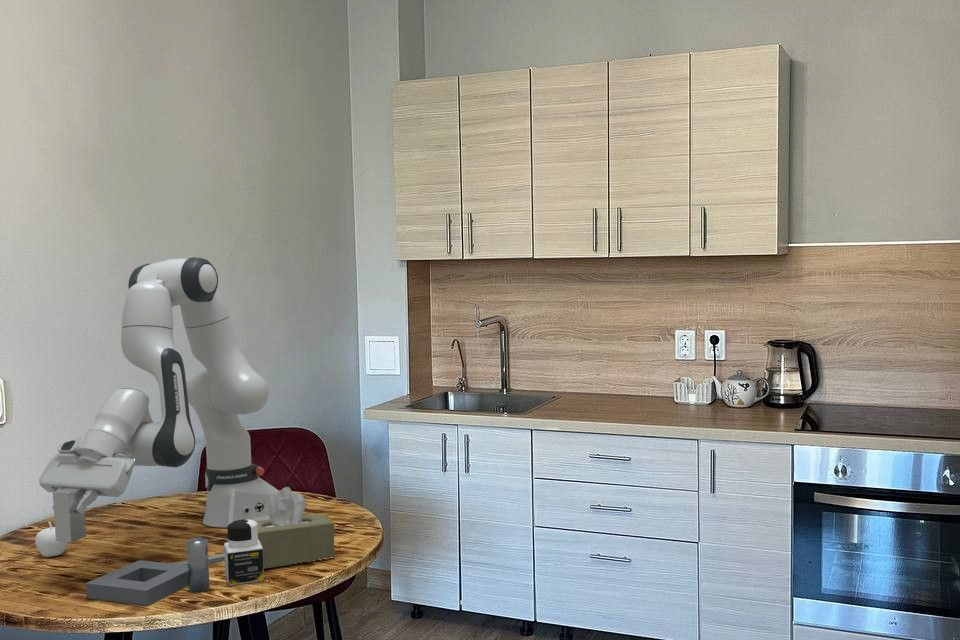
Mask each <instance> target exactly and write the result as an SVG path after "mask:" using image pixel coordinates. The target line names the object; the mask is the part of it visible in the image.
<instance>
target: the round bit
mask: <svg viewBox="0 0 960 640" xmlns="http://www.w3.org/2000/svg"><path fill="white" fill-rule="evenodd" d="M186 556H187V557H186V558H187V561H188V584H189V585H188V592H189V593H190V594H191V593H192V594H199V593H205V592H207V591H209V590H210V589H209V588H210V567H209V566H210V564H209V563H208V556H209V542H208V537H193V538H190V539H187V540H186ZM204 591H205V592H204Z"/></svg>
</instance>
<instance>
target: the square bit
mask: <svg viewBox="0 0 960 640" xmlns="http://www.w3.org/2000/svg"><path fill="white" fill-rule="evenodd" d="M84 497H85V495H84V493H83V489H81V488H64V489H61V490H58V491H55V492H52V503H53V504H52V506H53V505H54V509H53V516H54V517H53V519H54V527H55V534H56V541H62V542H68V543H72V542H76V541H79V540H81V539H84V538H86V537H87V525H86V510H85V511H84V513H76V512H75V511H74V510H73V507H74V506H75V503H76V502H80V501H81V500H82V499H83V498H84Z"/></svg>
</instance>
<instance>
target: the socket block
mask: <svg viewBox="0 0 960 640" xmlns="http://www.w3.org/2000/svg"><path fill="white" fill-rule="evenodd" d="M170 563H171V562H161V561H159V562H158V561H150V560H140V559H138V560H136V561H134V562H132V563H129V564H127V565H125V566H122V567H119V568H118V569H115V570H113V571H111V572H108V573H106V574H103V575H102V576H99V577H97V578H94V579H93V580H89V581H88V582H86V583H85V599H89V600H90V599H91V600H97V601H99V600H100V601H104V602H106V601H107V602H114V603H121V604H130V605H135V606H136V605H137V606H146V607H149V606H150V605H152V604H154V603H156V602H159V601H160V600H162V599H164V598H166V597H169V596H171V595H172V594H174V593H176V592H179V591H180V590H182V589H185V588H186V587H189V584H188V565H179V564H170Z"/></svg>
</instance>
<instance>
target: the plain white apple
mask: <svg viewBox="0 0 960 640" xmlns="http://www.w3.org/2000/svg"><path fill="white" fill-rule="evenodd" d="M48 524H49V527H48V528H47V527H46V528H44V529H42V530H40V531H39V532H37V533H36V535H35V539H34V541H35V546H36V548H37V549H38V551H39V552H40V554H41V555H42V557H44V558H51V557H57V556H61V555H62V554H64V552H65V550H66V547H67V546H68V543H69V542H62V541H56V534H55V526H53V525H52V523H51V521H50V520H48Z"/></svg>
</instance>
